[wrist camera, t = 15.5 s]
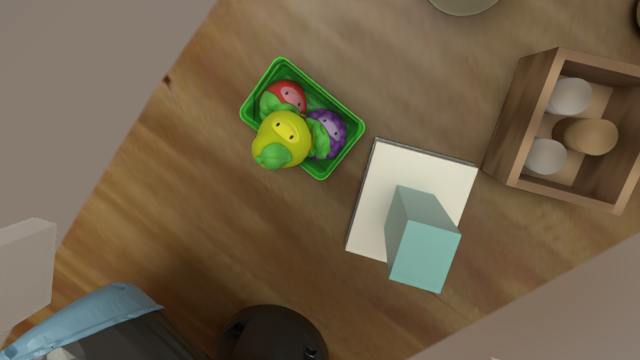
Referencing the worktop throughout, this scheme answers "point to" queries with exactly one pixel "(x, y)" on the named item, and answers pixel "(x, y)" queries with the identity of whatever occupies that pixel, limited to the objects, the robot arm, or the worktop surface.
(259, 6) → the worktop surface
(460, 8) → the can
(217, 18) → the worktop surface
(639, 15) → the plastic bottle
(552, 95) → the box
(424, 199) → the lid
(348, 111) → the fruit basket
